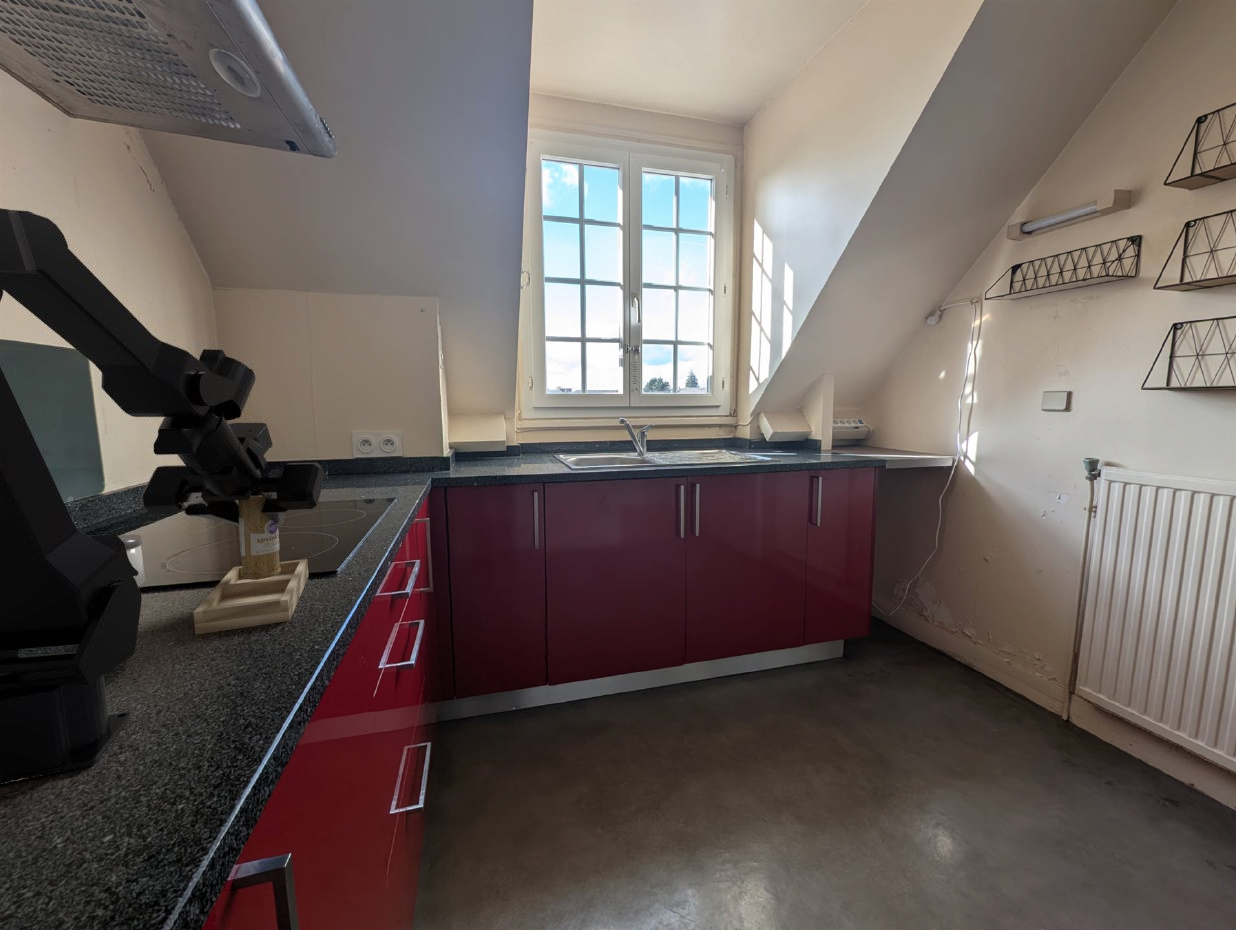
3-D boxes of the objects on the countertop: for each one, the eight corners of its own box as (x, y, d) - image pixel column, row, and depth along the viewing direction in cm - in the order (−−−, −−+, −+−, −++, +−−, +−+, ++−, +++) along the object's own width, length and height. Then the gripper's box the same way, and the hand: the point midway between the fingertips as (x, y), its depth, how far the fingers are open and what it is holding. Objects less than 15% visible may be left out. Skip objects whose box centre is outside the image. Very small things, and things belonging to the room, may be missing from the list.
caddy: (289, 620, 62) (288, 599, 62) (195, 634, 58) (193, 611, 58) (308, 576, 78) (307, 559, 77) (235, 585, 74) (233, 566, 74)
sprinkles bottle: (270, 580, 69) (265, 481, 67) (233, 581, 68) (227, 481, 67) (287, 569, 73) (283, 476, 72) (253, 570, 73) (247, 476, 71)
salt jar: (135, 592, 71) (129, 543, 70) (75, 599, 68) (68, 548, 68) (153, 578, 77) (148, 533, 76) (98, 584, 74) (92, 537, 73)
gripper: (315, 401, 66) (347, 474, 78) (146, 400, 62) (207, 478, 74) (293, 469, 59) (332, 538, 71) (104, 473, 56) (178, 545, 68)
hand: (263, 522), depth 71 cm, fingers closed on sprinkles bottle, 4 cm apart
